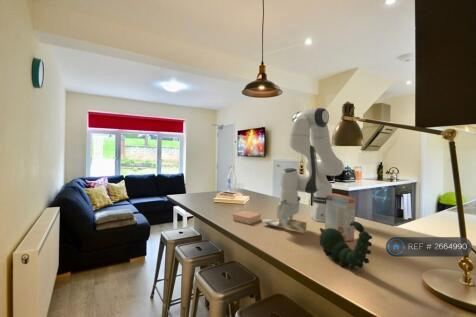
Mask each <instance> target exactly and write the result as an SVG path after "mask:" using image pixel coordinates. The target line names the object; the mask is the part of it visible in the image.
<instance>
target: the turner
mask: <svg viewBox="0 0 476 317" xmlns="http://www.w3.org/2000/svg"><path fill="white" fill-rule="evenodd" d="M278 220H279V221H278ZM278 220H274V219H270V218H266V219H263V220H262V221H261V223H263V224H265V225H266V224H268V225H270V226H274V227H281V228H286V229H290V230H294V231H295V232H296V231H297V232H301V233H305V232H306V231H307V222H305V221H302V220H298V219H297V220H296V219H293V218H292V219H289V217H288V219H287V222H288V225H287V226H285V225H284V221H283V220H281V219H278Z"/></svg>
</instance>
